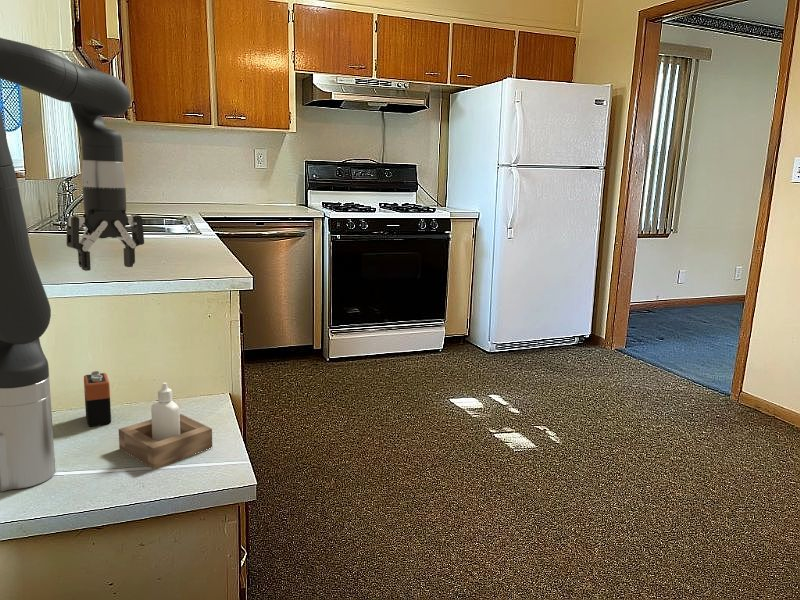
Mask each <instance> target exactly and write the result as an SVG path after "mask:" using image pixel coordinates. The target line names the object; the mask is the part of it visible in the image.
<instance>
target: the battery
mask: <svg viewBox="0 0 800 600" xmlns="http://www.w3.org/2000/svg"><path fill="white" fill-rule="evenodd" d="M110 386H111V384H110V381H109V378H108V375H107V373H105V372H103V373H102V372H100V371H98V370H93V371H91V374H85V375H84V376H83V387H84V392H83V393H84V406H85V417H86V424H87V426H88V427H95V426H102V425H103V426H104V425H108V424H109V425H110V424H111V422H112V410H111V406H112V405H111V388H110Z"/></svg>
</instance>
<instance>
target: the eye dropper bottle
mask: <svg viewBox="0 0 800 600" xmlns="http://www.w3.org/2000/svg"><path fill="white" fill-rule="evenodd" d="M180 414H181V413H180V407H179V406H178V404H177V403H176V402H174V401H173V389H171V388H169V386H168V383H167V382H163V383H162V384H161V388H160V389H158V390H157V400H156V401H154V402H153V403H152V404H151V419H152V439H154V440H156V441H157V442H158V441H161V440H164V439H167V438H170V437H173V436H176V435H179V434H180Z"/></svg>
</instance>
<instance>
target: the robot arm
mask: <svg viewBox="0 0 800 600" xmlns="http://www.w3.org/2000/svg"><path fill="white" fill-rule="evenodd" d="M0 79H1V80H4V81H7V82H10V83H13V84H16V85H19V86H21V87H24V88H26V89H28V90H32V91H34V92H37V93H39V94H42V95H44V96H47V97H49V98H51V99H55V100H57V101H61V102H64V103H69V105H70V107H71V111H72V114H73V117H74V120H75V123H76V126H77V129H78V132H79V134H80V137H81V152H82V155H81V156H82V165H81V167H82V168H81V184H82V201H83V210H84V213H83V215H82V216H76V215H75V216H73V215H68V216H67V217H66V246H67V247H68V248H70V249H74V250H76V251H77V259H78V266H79V268H81V270H83V271H84V272H88V271H91V269H92V268H91V266H92V265H91V252H90V251H89V250H90V248H91V247H92V246H93V244H95V243H96V242H97V240H98V239H108V238H111V239H118V240H119V242H120V243H122V245H123V246H124V248H123V265H124V267H125V268H132V267H133V266H134V265H135V263H136V251H135V250H136V247H138V246H143V245H144V244H145V234H144V224H143V217H142V216H141V215H138V214H131V215H127V191H126V190H127V189H126V187H127V186H126V173H125V166H124V151H123V149H124V148H123V139H122V138H123V137H122V135H121V133H119V131H116V130H114V129H110V128H107V126H106V125H105V122H104V119H103V117H117V116H121V115H124V113H126V112H127V111H128V109H129V108H130V106H131V100H132V98H131V92H130V91H129V88H128V87H127V85H126V84H125V83H124V82H123V81H122V80H121V79H119V78H118V77H116V76H114V75H112V74H109V73H106V72H104V71H101V70H96V69H93V68H90V67H86V66H82V65H79V64H76V63H74V62H73V61H71V60H69V59H66V58H64V57H62V56H60V55H58V54H56V53H54V52H53V51H49V50H47V49H44V48H41V47H38V46H36V45H35V46H34V45H31V44H29V43H24V42H20V41H16V40H13V39H12V40H11V39H8V38H3V37H0ZM1 111H2V110H1V109H0V492H5V491H9V490H18V489H25V488H29V487H34V486H37V485H40V484H42V483H44V482H46V481H47V480H50V479H51V478H52V477H53V476H54V475H55V473H56V457H55V455H56V454H55V443H54V431H53V430H54V429H53V428H54V427H53V415H52V414H53V413H52V398H51V383H50V382H51V381H50V368H49V362H48V359H47V358H46V355H45V353H44V350H43V348H42V346H41V341H40V338H41V337H42V336H43V335H44V334H45V332H46V331H47V329H48V327H49V325H50V322H51V314H52V312H51V311H52V309H51V304H50V301H49V298H48V296H47V293H46V291H45V288H44V285H43V282H42V280H41V278H40V277H41V276H40V274H39V271H38V268H37V265H36V263H35V261H34V256H33V253H32V249H31V244H30V239H29V233H28V227H27V221H26V215H25V211H24V208H23V204H22V203H23V202H22V199H21V194H20V186H19V183H18V178H17V173H16V169H15V166H14V162H13V158H12V155H11V152H10V148H9V144H8V140H7V134H6V130H5V126H4V120H3V115H2V112H1ZM127 224H129V226H130V230H131V235H130V233H129V232H128V231H127V229H126V226H127ZM82 225H84V226H85V227H86V229H85V230H84V233H83V234H82V235H81V239H80V228H81V227H82Z"/></svg>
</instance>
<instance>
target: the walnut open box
mask: <svg viewBox="0 0 800 600" xmlns="http://www.w3.org/2000/svg"><path fill="white" fill-rule="evenodd" d="M118 445H119V446H118V447H119V450H120V451H122V452H124V453H125V452H126V454H127V453H128V455H129V454H130V455H129V456H131V455H132V456H134V457H135V458H134V457H133V458H134V459H136V458H137V459H139V460H140V461H139V460H138V461H139V462H141V461H142V462H143V464H144V465H146V466H148V467H149V468H151V469H153V470H156V469H159V468H162V467H165V466H167V465H171V464H173V463H175V462H178V460H179V461H181V459H182V460H184V459H187V458H189V457H188V456H190V457H192V456H191V455H193V454H195V453H198V452H201V451H204V450H206V449H209V448H211V447H212V448H213V428H211V427H210V426H208V425H205V424H203V423H200V422H199V421H196V420H195V419H192V418H191V417H188V416H186V415H184V414H181V413H180V434H179V435H176V436H173V437H170V438H167V439H164V440H161V441H158V442H157V441H156V440H154V439H152V418H151V419H149V420H145V421H141V422H138V423H135V424H131V425H128V426H125V427H121V428H118ZM209 450H210V449H209ZM206 451H207V450H206ZM204 452H205V451H204ZM201 453H202V452H201ZM198 454H199V453H198ZM195 455H196V454H195ZM132 456H131V457H132ZM193 456H194V455H193ZM186 457H187V458H186ZM183 458H184V459H183ZM137 459H136V460H137ZM142 462H141V463H142Z"/></svg>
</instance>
